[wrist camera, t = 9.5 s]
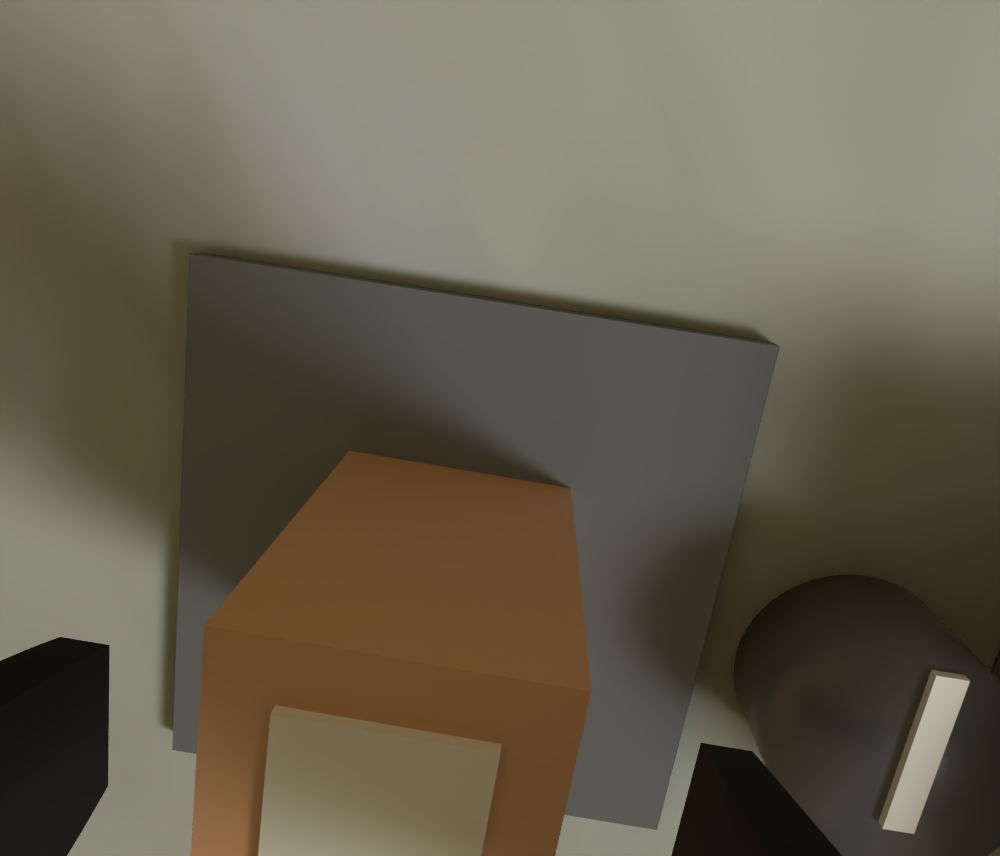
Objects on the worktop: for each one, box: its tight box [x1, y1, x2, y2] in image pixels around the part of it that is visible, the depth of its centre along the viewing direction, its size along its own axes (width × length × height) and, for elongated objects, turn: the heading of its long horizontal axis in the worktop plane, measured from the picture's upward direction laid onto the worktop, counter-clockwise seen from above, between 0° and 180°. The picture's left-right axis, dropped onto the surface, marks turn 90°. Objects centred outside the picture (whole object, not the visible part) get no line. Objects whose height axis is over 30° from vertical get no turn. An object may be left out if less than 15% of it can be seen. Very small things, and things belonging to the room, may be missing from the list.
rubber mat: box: [172, 253, 780, 830], centre depth 14 cm, size 10×10×1 cm
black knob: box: [734, 575, 1000, 856], centre depth 13 cm, size 4×4×3 cm
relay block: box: [191, 451, 591, 856], centre depth 11 cm, size 4×4×6 cm
